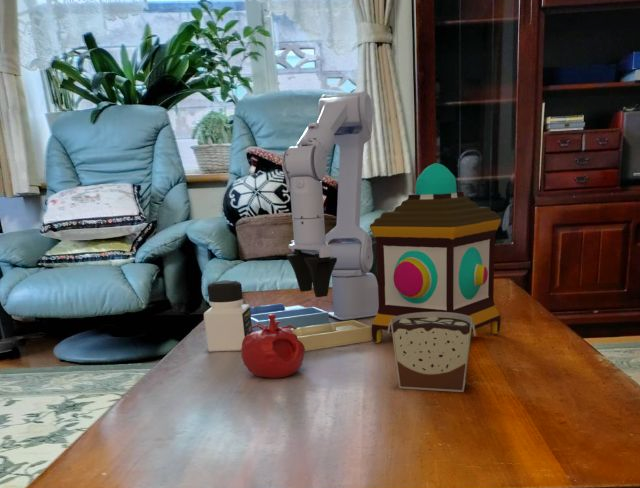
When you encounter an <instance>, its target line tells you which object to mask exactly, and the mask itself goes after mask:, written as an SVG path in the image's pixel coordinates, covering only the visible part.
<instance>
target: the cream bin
mask: <svg viewBox="0 0 640 488" xmlns="http://www.w3.org/2000/svg"><path fill="white" fill-rule="evenodd" d="M331 323H332V324H334V325H335V326H336V327H340V326H347V325H353V326H356V327H358V328H355V329H349V330H342V331H335V332H328V333H321V334H315V335H308V336H301V337H297V338H298V340H299V341H300V342H302V344H303V345H304V348H305V352H308V351H315V350H322V349H327V348H334V347H339V346H340V347H342V346H346V345H353V344H359V343H366V342H372V341H373V339H372V325H368V324H365V323H363V322H360V321H357V320H356V319H349V320H342V321H336V322H331ZM290 330H291V331H292V332H293V333H294V332H295V330H296V329H290Z"/></svg>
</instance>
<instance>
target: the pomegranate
mask: <svg viewBox="0 0 640 488" xmlns="http://www.w3.org/2000/svg"><path fill="white" fill-rule="evenodd" d="M268 317H269V319H270V325H269V327H268V326H265V325H262V324H255V326H253V327H252V328H250V329H253V328H255V327H259V328H260V329H262V330H260V331H256V332H253V331H252V333H251V334H249V335H247V336H246V337H245V338H244V339H243V342H242V348H241V351H240V354H241V359H242V362H243V365H244V366H245V367H246V369H247V371H248V372H249V373H251V374H252V375H255V376H257V377H261V378H271V379H274V378H275V379H276V378H277V379H279V378H286V377H289V376H292V375H294V374H295V373H296V372H298V371H299V370H300V369H301V367H302V365H303V361H304V359H305V354H306V351H305V348H304V345H303V344H302V342H300V341H299V340H298V338H297V335H295V334H294V333H293V332H292V331H291V330H290V329H288V328H289V327H292V328H293V329H297V328H295V327H293V326H292V325H288V326H286V327H281V328H278V324H279V323H281V321H280V322H278V321H277V322H276V323H275V318H276V316H275V314H270V315H269V316H268ZM259 325H261V326H263V327H264V328H262V327H260V326H259ZM250 329H249V330H250Z"/></svg>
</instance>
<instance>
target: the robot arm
mask: <svg viewBox="0 0 640 488" xmlns="http://www.w3.org/2000/svg"><path fill="white" fill-rule="evenodd" d="M372 103H373V102H372V98H371V96H370V95H369V93H368V92H367V91H366V90H362V91H360V92H359V91H358V92H348V93H336V94H335V93H334V94H327V93H325V94H322V95H321V96H320V99H319V100H318V105H317V114H318V119H317V121H315V122H309V123H308V125H307V127H306V128H305V130H304V132H303V133H302V135H301V137H300V138H299V140H298V141H297V142H296V145H294V146H289V147H287V149H285V150H284V152H283V155H282V163H281V168H282V173H283V175H284V178H285V183H286V189H287V192H289V193H290V204H291V205H290V206H291V217H292V219H291V220H292V233H293V240H290V244H288V246H287V248H288V249H289V250H291V252H293V253H289V254H286V259H287V260H288V262H289V264H290V266H291V267H292V268H291V269H292V270H293V273H294V276H295V278H296V279H295V280H296V282H297V286H298V288H299V291H300V292H301V293H303V292H310V291H312V289H313V292H314V296H315V298H323V297H328V295H329V289H330V284H331V289H332V291H331V292H332V306H333V308H332V309H333V311H328V317H331V318H334V319H337V320H339V321H350V320H356V319H361V318H371V317H376V314H377V312H378V308H379V300H378V278H377V277H376V275H375V274H374V273H373V272H370V270H371V269H372V267H373V263H374V251H373V240H372V237H371V235H370V234H369V233H368V232H367V231H365V230H364V229H363V228H362V227H360V225H361V224H360V223H361V202H362V185H363V183H362V181H363V162H364V161H363V160H364V150H365V144H366V143H367V142H369V141H370V140H371V139H372V132H373V121H374V110H373V109H374V108H373V104H372ZM335 145H336V146H338V148H339V159H338V161H339V162H338V164H339V165H338V183H337V186H338V187H337V206H336V225H335V226H334V227H333V228H332V229H331V230H329V231H328V232H327V233H326V228H325V211H324V197H323V196H324V195H323V194H324V193H323V179H324V178H326V174H327V165H328V161H329V159H328V157H329V155H330V153H331V152H332V150H333V148H334V146H335Z"/></svg>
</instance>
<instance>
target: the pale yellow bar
mask: <svg viewBox="0 0 640 488" xmlns="http://www.w3.org/2000/svg"><path fill="white" fill-rule="evenodd" d="M332 323H333V322H329V323H328V324H321V325H314V326H307V327H300V328H297V329H296V330H295V332H294V334H295V335H297V337H301V336H308V335H315V334H321V333H328V332H335V331H342V330H349V329H355V328H358V327H356V326H353V325H347V326H340V327H336V326H335V325H334V324H332Z"/></svg>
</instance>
